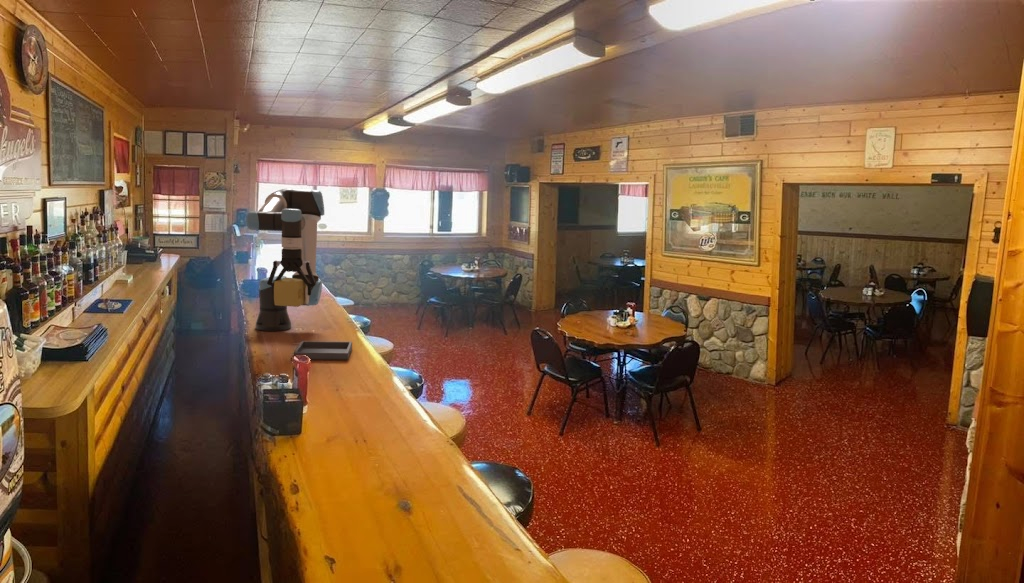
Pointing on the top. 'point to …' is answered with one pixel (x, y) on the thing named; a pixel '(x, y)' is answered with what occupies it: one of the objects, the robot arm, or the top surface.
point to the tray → (324, 350)
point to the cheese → (290, 292)
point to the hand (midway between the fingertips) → (292, 302)
